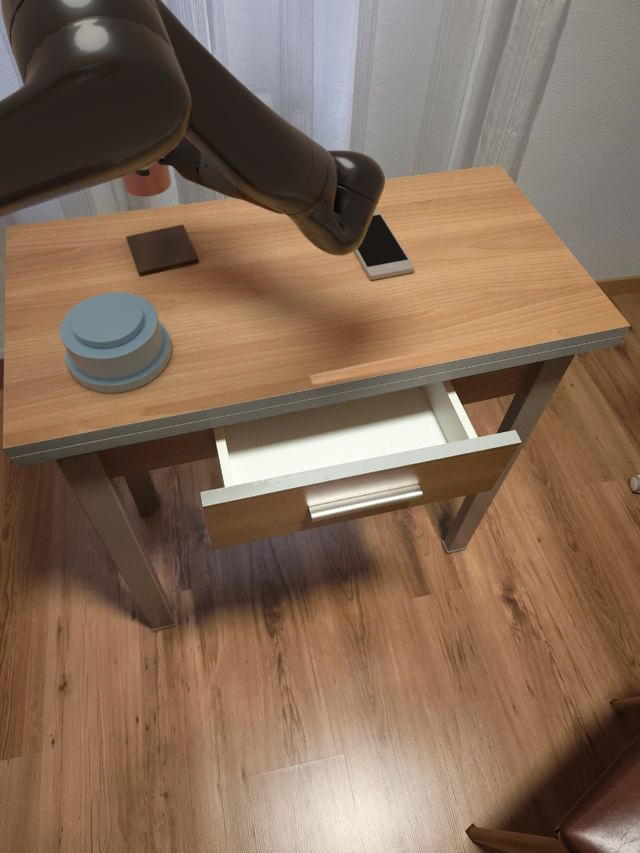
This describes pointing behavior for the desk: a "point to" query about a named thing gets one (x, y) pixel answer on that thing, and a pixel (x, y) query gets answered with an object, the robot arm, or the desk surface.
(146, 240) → the coaster
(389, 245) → the smartphone
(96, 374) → the blue stepped cylinder
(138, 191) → the terracotta cylinder
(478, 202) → the desk surface
